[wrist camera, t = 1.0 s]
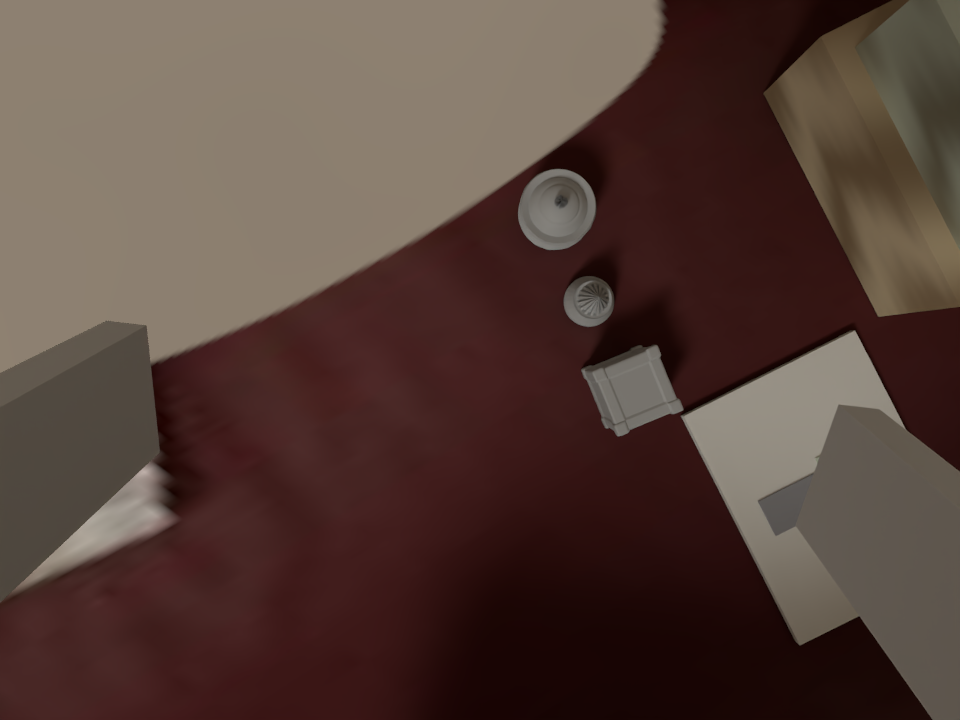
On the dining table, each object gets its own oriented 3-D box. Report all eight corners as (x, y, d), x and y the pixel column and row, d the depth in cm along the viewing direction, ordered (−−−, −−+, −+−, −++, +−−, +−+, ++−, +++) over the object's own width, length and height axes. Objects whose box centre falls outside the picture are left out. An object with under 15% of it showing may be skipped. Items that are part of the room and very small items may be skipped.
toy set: (664, 401, 30) (690, 409, 26) (599, 428, 30) (616, 439, 26) (570, 172, 29) (583, 147, 26) (505, 199, 29) (509, 178, 26)
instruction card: (966, 556, 29) (974, 560, 28) (795, 641, 29) (801, 646, 28) (849, 330, 29) (856, 330, 28) (680, 415, 29) (684, 416, 28)
